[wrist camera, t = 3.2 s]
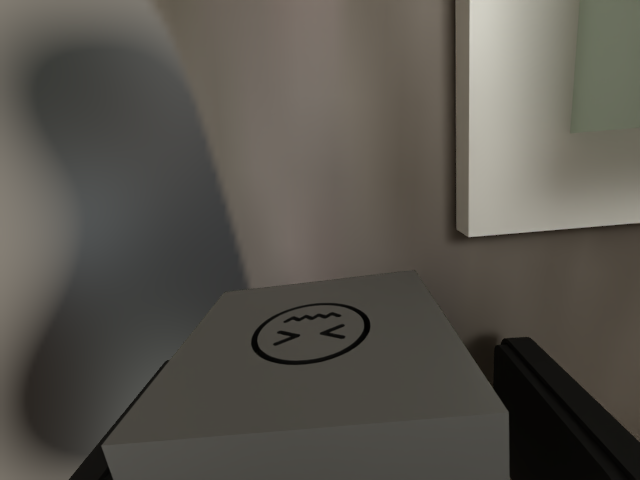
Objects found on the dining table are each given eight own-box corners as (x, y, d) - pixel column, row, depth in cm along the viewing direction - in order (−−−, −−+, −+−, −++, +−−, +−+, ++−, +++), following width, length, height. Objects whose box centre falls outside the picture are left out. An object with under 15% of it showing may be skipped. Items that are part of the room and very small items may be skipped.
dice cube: (259, 444, 10) (191, 699, 6) (224, 291, 9) (100, 446, 4) (427, 431, 10) (511, 692, 5) (414, 269, 9) (508, 411, 4)
